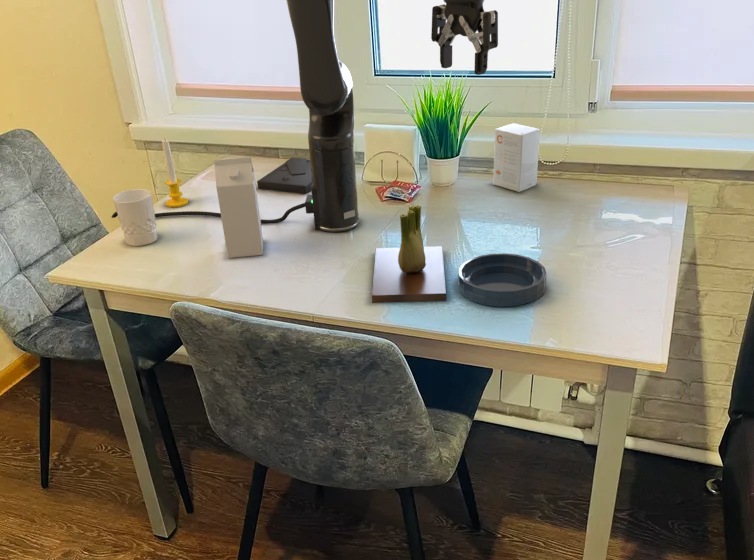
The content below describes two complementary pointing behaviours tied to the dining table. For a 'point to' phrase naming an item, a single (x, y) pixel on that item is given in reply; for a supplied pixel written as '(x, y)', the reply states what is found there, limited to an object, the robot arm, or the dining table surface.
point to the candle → (172, 179)
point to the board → (408, 278)
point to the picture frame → (289, 177)
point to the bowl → (502, 279)
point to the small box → (516, 157)
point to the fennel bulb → (411, 242)
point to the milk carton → (239, 207)
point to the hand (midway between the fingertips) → (463, 70)
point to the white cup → (136, 216)
